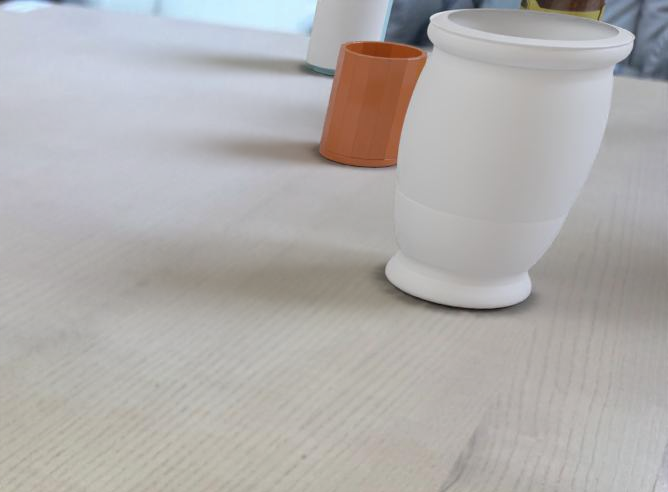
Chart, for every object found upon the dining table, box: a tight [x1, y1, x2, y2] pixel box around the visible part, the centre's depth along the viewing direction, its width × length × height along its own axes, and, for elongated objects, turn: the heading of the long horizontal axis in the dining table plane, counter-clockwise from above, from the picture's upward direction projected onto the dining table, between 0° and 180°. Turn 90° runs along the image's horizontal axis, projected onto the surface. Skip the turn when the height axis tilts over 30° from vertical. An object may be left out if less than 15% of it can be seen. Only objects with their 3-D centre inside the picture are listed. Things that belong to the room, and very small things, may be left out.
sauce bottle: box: [518, 0, 606, 22], centre depth 98 cm, size 7×6×20 cm
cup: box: [318, 41, 428, 168], centre depth 95 cm, size 6×6×8 cm
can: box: [305, 0, 394, 76], centre depth 118 cm, size 7×7×12 cm
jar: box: [384, 7, 636, 310], centre depth 70 cm, size 11×10×15 cm
